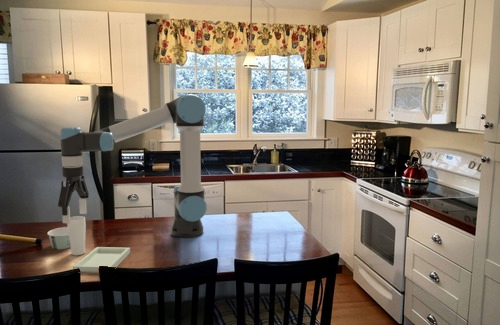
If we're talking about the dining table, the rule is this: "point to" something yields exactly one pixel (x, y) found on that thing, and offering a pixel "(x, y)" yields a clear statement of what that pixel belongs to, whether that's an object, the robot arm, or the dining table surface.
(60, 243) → the food container
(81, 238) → the drinking glass
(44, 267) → the dining table surface
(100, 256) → the tray
